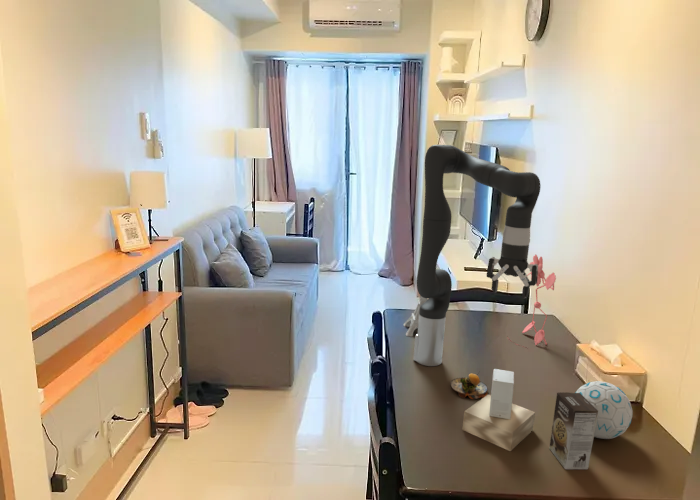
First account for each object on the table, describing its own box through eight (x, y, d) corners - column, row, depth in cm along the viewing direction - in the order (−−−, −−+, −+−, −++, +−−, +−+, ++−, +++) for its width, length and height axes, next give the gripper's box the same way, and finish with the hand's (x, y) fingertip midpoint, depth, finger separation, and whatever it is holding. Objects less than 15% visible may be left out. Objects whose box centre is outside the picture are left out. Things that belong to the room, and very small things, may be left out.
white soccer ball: (560, 418, 154) (567, 370, 151) (612, 421, 154) (620, 373, 150) (580, 448, 139) (588, 396, 136) (638, 452, 139) (648, 399, 136)
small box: (510, 420, 141) (514, 383, 138) (488, 416, 142) (492, 380, 140) (510, 406, 148) (514, 371, 146) (490, 402, 150) (493, 368, 148)
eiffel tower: (439, 338, 211) (446, 264, 204) (406, 336, 211) (411, 263, 205) (435, 326, 224) (440, 256, 218) (403, 324, 224) (408, 255, 218)
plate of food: (463, 378, 177) (465, 358, 175) (494, 392, 169) (497, 370, 167) (442, 389, 168) (444, 368, 167) (474, 404, 160) (476, 381, 159)
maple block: (462, 431, 146) (464, 411, 144) (486, 412, 156) (488, 394, 155) (510, 452, 137) (512, 431, 135) (532, 431, 147) (535, 412, 146)
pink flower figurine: (532, 328, 226) (542, 248, 219) (557, 353, 201) (569, 263, 194) (496, 327, 226) (505, 247, 218) (517, 351, 200) (528, 262, 193)
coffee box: (547, 448, 139) (555, 391, 135) (571, 448, 139) (580, 391, 136) (564, 470, 130) (573, 410, 126) (589, 469, 130) (599, 410, 127)
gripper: (487, 240, 154) (482, 293, 158) (538, 247, 147) (531, 303, 151) (495, 236, 161) (489, 287, 164) (543, 243, 154) (536, 296, 157)
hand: (509, 295), depth 158 cm, fingers open, 8 cm apart
